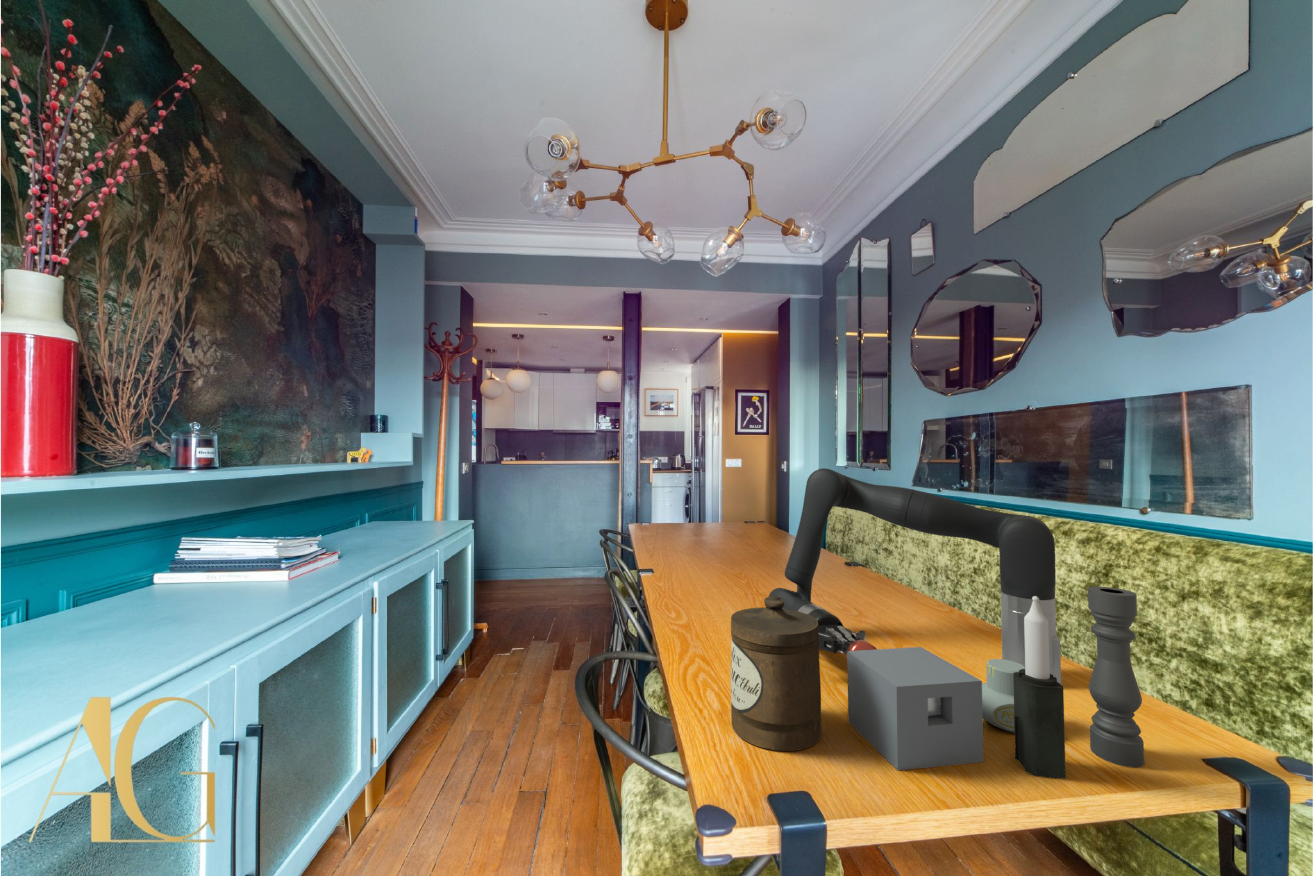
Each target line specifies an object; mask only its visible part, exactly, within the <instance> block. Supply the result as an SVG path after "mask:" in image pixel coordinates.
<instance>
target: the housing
mask: <svg viewBox="0 0 1313 876" xmlns="http://www.w3.org/2000/svg"><path fill="white" fill-rule="evenodd" d="M876 649H877V648H876ZM846 660H847V722H848V723H849V725H851V726H852V727H853V728H854V729H855V730H856V731H857V732H858V733H859V734H860V735H861V736H862V737H863V738H864V739H865V740H866V741H867V742H868V743H869V744H870V745H871V746H873V748H874V749H875V750H877V752H878V753H879V754H881V756H882V757H883V758H885V759H886V761H888V762H889V763H890V764H891V765H892V766H893V767H894V768H895V769H896V770H897V771H905V770H914V769H924V768H925V769H926V768H935V767H936V768H937V767H947V766H957V765H958V766H959V765H966V764H977V763H979V764H980V763H984V733H983V732H984V726H983V725H984V724H983V723H984V722H983V720H984V719H983V716H982V684H983V681H982V680H981V679H979V678H978V677H976V676H974V675H972V674H971V673H968V672H967V671H966V670H963V669H962V668H959V667H958V666H956V665H955V664H953V663H951V662H949V661H947V660H945V659H943V658H942V657H940V656H938V655H936V654H935V653H933V652H931V651H930V650H928V649H925V647H921V646H916V647H915V646H913V647H912V646H911V647H897V648H895V647H894V648H881V649H879V648H878V649H877V650H859V651H847V657H846ZM939 697H941V715H936V716H928V698H939Z"/></svg>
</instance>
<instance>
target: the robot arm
mask: <svg viewBox="0 0 1313 876" xmlns="http://www.w3.org/2000/svg"><path fill="white" fill-rule="evenodd" d="M833 507H834V508H835V507H836V508H842V509H849V510H852V511H859V512H862V513H866V514H868V515H871V516H874V517H876V518H878V519H880V520H883V521H886V522H888V523H890V524H893V525H896V526H899V527H901V528H906V529H909V530H913V531H917V532H920V533H923V534H930V535H935V536H940V537H941V536H942V537H948V538H949V537H951V538H960V539H968V540H972V541H976V542H979V543H982V544H986V545H989V546H992V547H995V548H997V549H999V553H998V554H999V581H1000V582H999V583H1000V584H999V585H1000V609H1001V610H1000V613H1001V614H1000V616H1001V617H1000V618H1001V659H1004V660H1009V661H1013V662H1016V663H1019V664H1021V665H1023V666H1024V667H1025V634H1024V617H1025V616H1026V615H1027V613H1028V612H1029V611H1030V608H1031V605H1032V602H1033V600H1032V597H1034V596H1037V597H1038V598H1039V601H1038V602H1039V605H1040V608H1041V610H1042V613H1043V615H1044V616H1045V617H1046V619H1047V620H1048V627H1049V668H1050V674H1052V675H1053V677H1056V678H1057V682H1058V683H1060V684H1061V685H1062V661H1061V640H1060V638H1059V636H1057V624H1056V623H1057V622H1056V621H1057V619H1056V613H1057V612H1056V582H1057V581H1056V580H1057V579H1056V544H1055V543H1056V542H1055V541H1056V540H1055V537H1054V535H1053V533H1052V531H1051V529H1050V527H1049V526H1048V525H1047V524H1046V522H1043V520H1041V519H1039V518H1037V517H1034V516H1032V515H1031V516H1030V515H1024V514H1017V513H1008V512H1002V511H1001V512H1000V511H996V510H989V509H983V508H980V507H976V506H972V505H969V504H966V503H964V502H960V501H958V500H955V499H952V498H948V497H945V496H941V495H936V494H933V493H931V492H926V491H921V490H916V489H913V488H907V487H900V486H893V485H880V484H873V483H870V482H869V483H868V482H865V481H862V480H858V479H855V478H853V477H850V476H847V475H844V474H842V473H840V472H838V471H836V470H833V469H830V468H825V467H824V468H818V469H815V470H814V471H813V472H811V474H810V475H809V476H808V477H807V480H806V485H805V492H804V498H803V505H802V510H801V516H800V521H799V524H798V528H797V532H796V536H795V538H794V542H793V545H792V548H791V550H790V551H791V552H790V554H789V557H788V560H787V563H786V566H785V569H784V576H785V579H787V580H788V581H790V582H791V583H793V584H795V585H796V589H797V590H796V591H794V590H790V589H787V588H783V587H776V588H774V589H773V590H771V591H770V593H769V594H768V596H769V595H777V596H779V597H780V598H782V599H783V601H784V606H783V607H782V609H789V610H794V611H798V612H802V613H805V614H808V615H810V616H812V617H814V618H815V619H816V620H817V622H818V628H819V650H820V651H821V650H822V651H825V652H829V653H832V654H837V653H838V652H840V653H841V654H843V655H846V653H847V649H848V647H849V646H850V645H851V643H853V642H854V641H857V640H865V641H866V631H865V630H859V631H856V632H853V631H852V630H851V629H850V628H846V627H845V626H844V624H843V623H842V621H841V620H840V618H838V617H837V616H836V615H835V614H833V613H831V612H829V611H828V610H826V609H825V608H823V607H822V606H819V605H816V603H813V602H812V587H813V580H814V575H815V572H816V571H817V568H818V564H819V560H820V557H821V552H822V543H823V535H824V530H825V526H826V522H827V520H828V517H829V515H830V512H831V511H832V508H833Z"/></svg>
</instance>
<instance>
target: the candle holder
mask: <svg viewBox="0 0 1313 876" xmlns="http://www.w3.org/2000/svg"><path fill="white" fill-rule="evenodd" d="M1137 597H1138V595H1137V593H1136V592H1133V591H1130V590H1127V589H1122V588H1116V587H1109V586H1089V587H1087V598H1088V599H1087V606H1088V609H1089V610H1090V614H1091V616H1092V617H1093V619H1094V621H1095V622H1096V623H1095V624H1093V625H1092V626H1090V630H1091V632H1092V634H1094V635H1095V637H1096V653H1097V655H1096V658H1095V662H1094V664H1093V665H1094V666H1093V669H1092V673H1091V676H1090V681H1089V683H1088V690H1089V693H1090V696H1091V698H1092V699H1093V702H1095V704H1096V705H1095V706H1096V708H1097V711H1096V712H1095V713H1094V714H1092V715H1091V717H1090V718H1091V721H1092V724H1090V725H1089V745H1090V746H1089V747H1090V751H1091V752H1092V754H1094V755H1095V756H1096V757H1098V758H1100V759H1102V760H1104V761H1106V762H1108V763H1112V764H1115V765H1117V766H1121V767H1126V768H1141V767H1143V766H1144V765H1145V752H1144V751H1145V748H1144V745H1145V744H1144V743H1145V742H1144V739H1143V738H1142V736H1140V735H1141V733H1142V731H1141V730H1142V729H1141V728H1140V727H1139V725H1138V723H1137V722H1136V721H1135V719H1134V717H1135V716H1136V714H1135V712H1137V711H1138V710H1139V708H1140V707H1141V705H1142V703H1143V698H1142V694H1141V692H1140V687H1139V686H1138V685H1139V684H1138V681H1137V679H1136V675H1135V672H1134V670H1133V666H1132V663H1131V643H1132V641H1134V640H1135V639H1136V637H1137V635H1136V633H1135V632H1134V631H1132V630H1131V629H1130V627H1132V624H1133V623H1134V622H1135V621H1136V617H1137V616H1138V606H1137V605H1138V599H1137Z"/></svg>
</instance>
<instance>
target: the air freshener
mask: <svg viewBox="0 0 1313 876" xmlns="http://www.w3.org/2000/svg"><path fill="white" fill-rule="evenodd" d="M985 663H986V682H984V683H982V716H983V720H984V721H986V722H987V723H989V724H991V725H992V726H994V727H996V728H999V729H1001V730H1004V731H1006V732H1009V733H1014V734H1015V729H1014V684H1013V673H1014V672H1019V670H1021V669H1025V667H1024V666H1023V665H1021V664H1019V663H1016V662H1013V661H1009V660H1004V659H1002V658H991V659H989V660H987V662H985Z"/></svg>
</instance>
